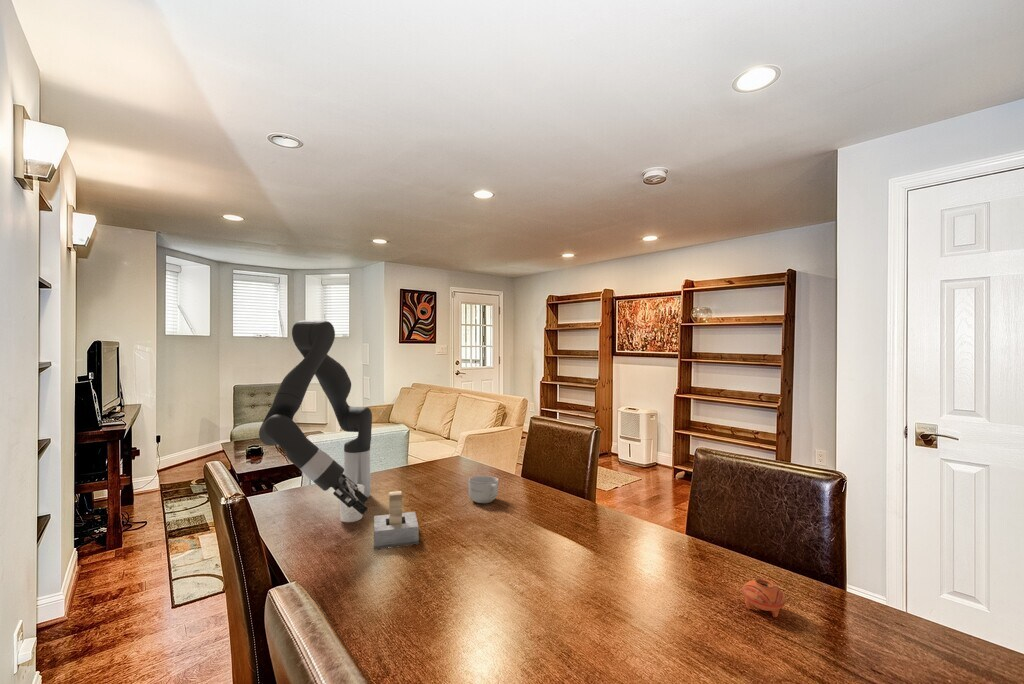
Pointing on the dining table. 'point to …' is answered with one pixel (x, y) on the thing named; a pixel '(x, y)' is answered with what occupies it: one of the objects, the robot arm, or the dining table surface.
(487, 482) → the teacup
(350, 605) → the dining table surface
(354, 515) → the white cup
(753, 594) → the footed terracotta jar
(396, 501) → the square wooden peg
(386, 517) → the grey square socket block
